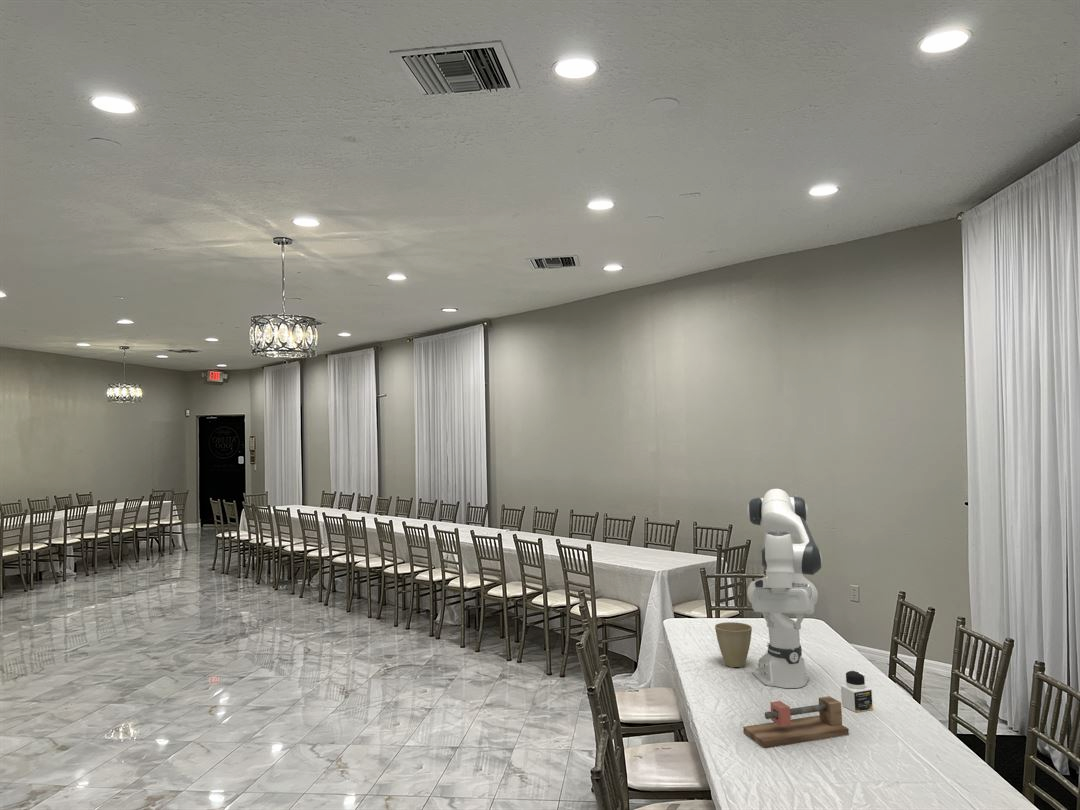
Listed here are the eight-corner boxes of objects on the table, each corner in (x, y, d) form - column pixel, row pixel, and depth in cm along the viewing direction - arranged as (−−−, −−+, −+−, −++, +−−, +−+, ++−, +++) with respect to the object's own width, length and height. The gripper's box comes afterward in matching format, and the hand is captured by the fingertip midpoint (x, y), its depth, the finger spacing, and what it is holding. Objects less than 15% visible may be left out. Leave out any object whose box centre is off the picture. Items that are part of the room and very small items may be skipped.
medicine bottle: (855, 712, 242) (853, 677, 243) (841, 705, 249) (839, 670, 250) (873, 709, 244) (871, 674, 245) (858, 702, 251) (856, 668, 252)
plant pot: (758, 670, 289) (756, 630, 289) (721, 671, 289) (719, 631, 290) (748, 659, 304) (746, 621, 304) (713, 660, 304) (711, 622, 305)
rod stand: (743, 733, 230) (742, 704, 230) (825, 720, 237) (823, 693, 237) (763, 748, 218) (762, 718, 218) (848, 734, 225) (847, 705, 226)
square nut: (771, 720, 229) (770, 702, 229) (780, 718, 230) (779, 700, 230) (781, 726, 223) (780, 708, 224) (790, 725, 224) (790, 707, 224)
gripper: (816, 583, 220) (819, 630, 217) (759, 582, 236) (761, 626, 232) (805, 582, 217) (808, 630, 213) (748, 582, 232) (750, 626, 229)
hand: (783, 628), depth 223 cm, fingers open, 8 cm apart
